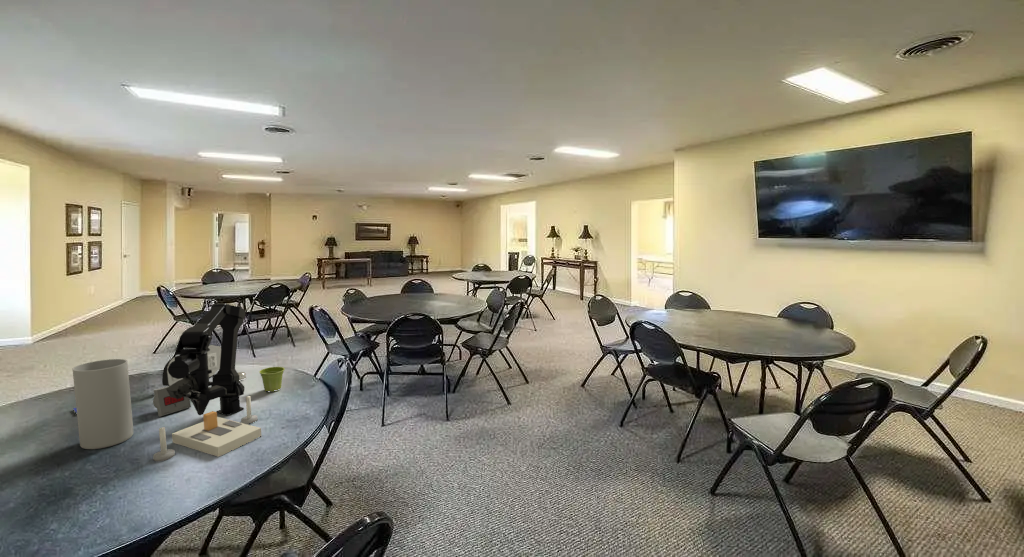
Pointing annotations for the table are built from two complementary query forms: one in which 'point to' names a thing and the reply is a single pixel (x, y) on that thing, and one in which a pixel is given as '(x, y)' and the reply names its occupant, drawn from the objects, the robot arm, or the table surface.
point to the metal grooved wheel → (242, 375)
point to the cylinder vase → (103, 403)
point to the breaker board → (217, 436)
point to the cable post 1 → (163, 448)
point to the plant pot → (272, 378)
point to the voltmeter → (168, 402)
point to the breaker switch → (210, 420)
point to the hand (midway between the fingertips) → (200, 414)
